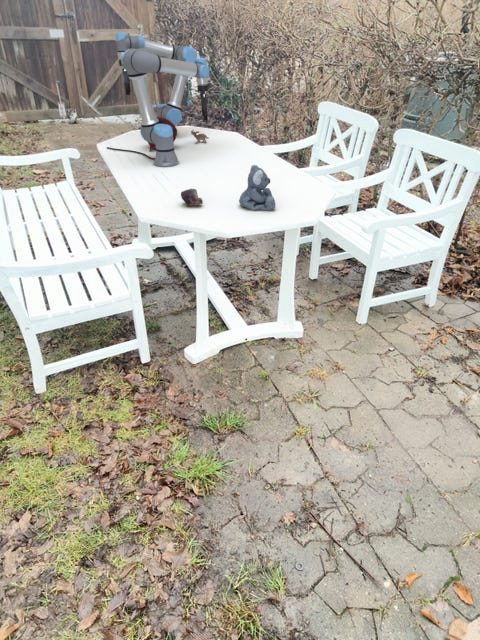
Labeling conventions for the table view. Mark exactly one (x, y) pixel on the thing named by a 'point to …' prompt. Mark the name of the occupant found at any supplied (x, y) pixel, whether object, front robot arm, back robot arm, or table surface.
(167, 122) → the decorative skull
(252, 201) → the koala plush
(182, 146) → the table surface
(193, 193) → the rock
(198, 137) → the dinosaur figurine
